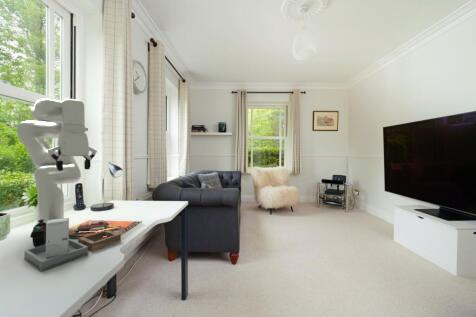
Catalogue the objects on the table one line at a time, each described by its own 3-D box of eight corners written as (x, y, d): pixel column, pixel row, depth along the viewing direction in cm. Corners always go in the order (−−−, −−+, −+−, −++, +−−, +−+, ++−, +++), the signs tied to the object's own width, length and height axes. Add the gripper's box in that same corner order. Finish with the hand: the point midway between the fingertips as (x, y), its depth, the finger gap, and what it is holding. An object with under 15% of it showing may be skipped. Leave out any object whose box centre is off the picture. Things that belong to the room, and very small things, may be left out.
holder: (78, 245, 86) (78, 238, 86) (106, 236, 95) (106, 229, 95) (92, 251, 80) (91, 243, 80) (120, 241, 89) (120, 234, 89)
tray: (24, 258, 74) (24, 250, 74) (68, 245, 86) (68, 237, 86) (41, 271, 66) (41, 262, 66) (88, 254, 77) (88, 246, 77)
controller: (49, 240, 90) (49, 217, 90) (44, 251, 80) (44, 225, 80) (35, 243, 88) (35, 219, 88) (29, 254, 78) (28, 227, 78)
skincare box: (45, 258, 73) (44, 223, 73) (47, 253, 77) (47, 220, 76) (68, 253, 76) (67, 220, 76) (69, 249, 80) (69, 217, 80)
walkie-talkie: (72, 237, 96) (122, 230, 104) (72, 227, 96) (122, 221, 104) (77, 230, 104) (123, 224, 112) (77, 221, 104) (123, 216, 112)
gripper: (91, 132, 99) (92, 168, 99) (43, 127, 84) (44, 170, 84) (100, 131, 95) (100, 169, 95) (51, 126, 80) (52, 171, 80)
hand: (74, 169), depth 90 cm, fingers open, 9 cm apart
